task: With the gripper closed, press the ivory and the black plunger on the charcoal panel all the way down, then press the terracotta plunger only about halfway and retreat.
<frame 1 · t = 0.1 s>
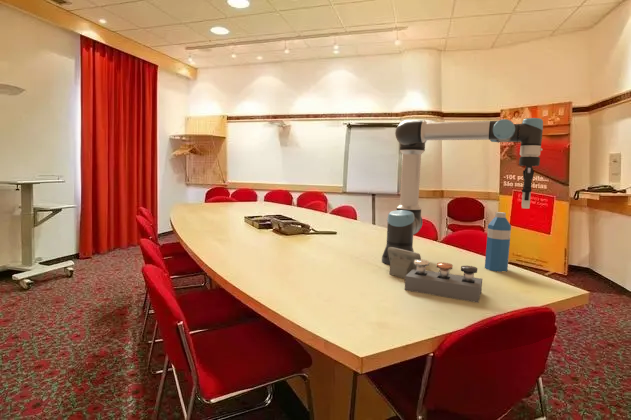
hand: (525, 207, 161), 28 cm above the table, fingers open, 13 cm apart
plunger black: (468, 275, 130), point 7 cm above the table, slide at 0.0 cm
panel: (442, 291, 134), on the table
digital clock: (404, 275, 154), on the table
plunger ivory: (421, 268, 137), point 7 cm above the table, slide at 0.0 cm
water bottle: (495, 269, 168), on the table
plunger terracotta: (444, 271, 134), point 7 cm above the table, slide at 0.0 cm
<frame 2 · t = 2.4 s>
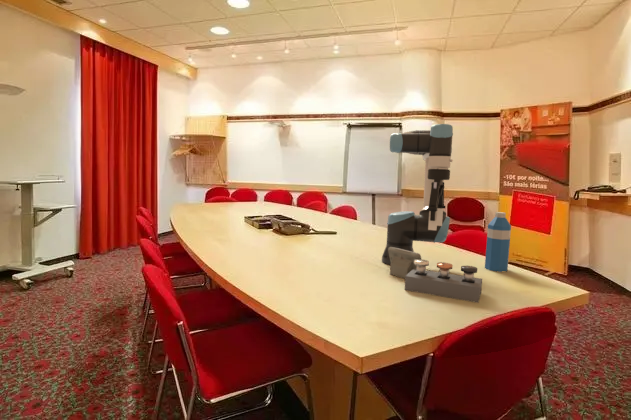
hand: (435, 227, 138), 22 cm above the table, fingers open, 13 cm apart
nothing on the table moved.
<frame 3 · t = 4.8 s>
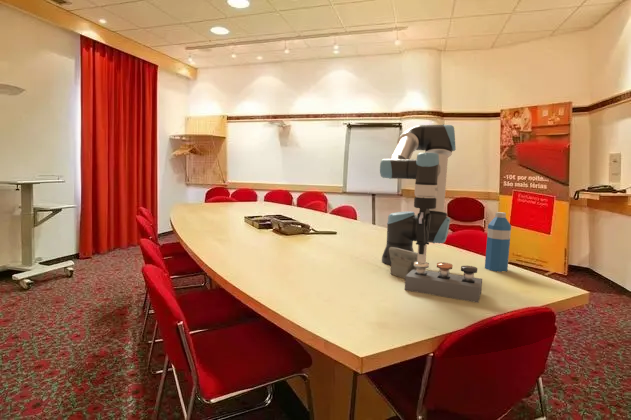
hand: (421, 262, 137), 9 cm above the table, fingers closed
plunger ivory: (420, 270, 137), point 6 cm above the table, slide at 0.8 cm, touching gripper
everything else where it was.
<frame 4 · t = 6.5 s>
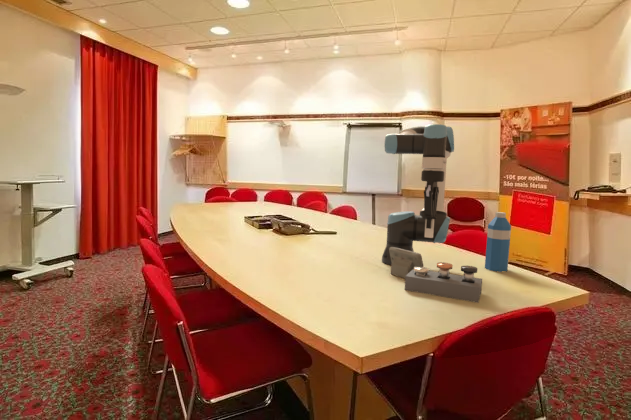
hand: (428, 237, 135), 19 cm above the table, fingers closed
plunger ivory: (420, 275, 138), point 4 cm above the table, slide at 2.7 cm
everything else where it was.
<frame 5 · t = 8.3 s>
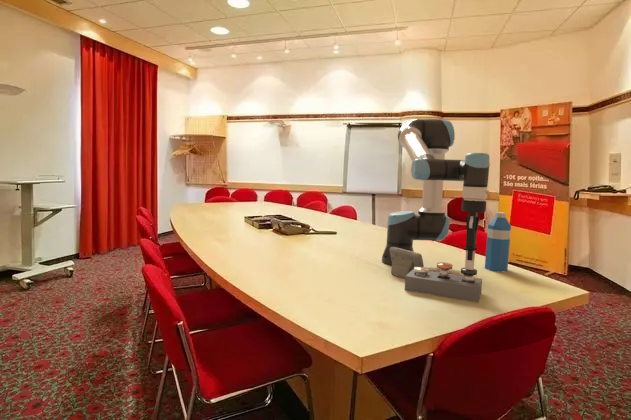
hand: (469, 269, 129), 9 cm above the table, fingers closed
plunger black: (468, 277, 130), point 6 cm above the table, slide at 0.7 cm, touching gripper
everything else where it was.
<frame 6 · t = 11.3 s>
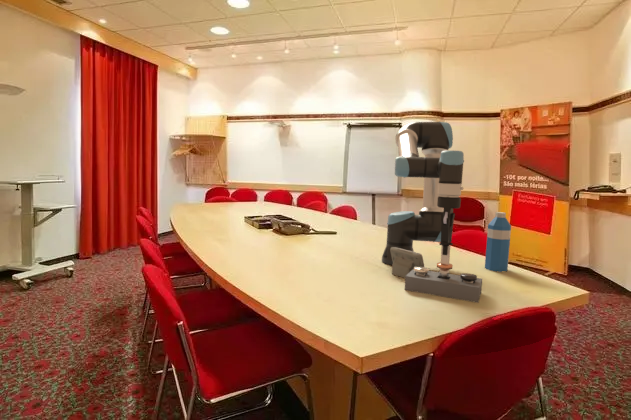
hand: (444, 263, 133), 10 cm above the table, fingers closed
plunger black: (468, 282, 130), point 4 cm above the table, slide at 2.7 cm
plunger terracotta: (444, 271, 134), point 7 cm above the table, slide at 0.0 cm, touching gripper
everything else where it was.
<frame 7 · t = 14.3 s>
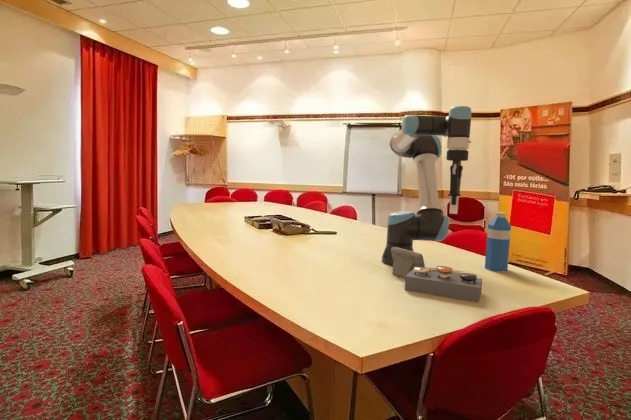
hand: (453, 213, 143), 26 cm above the table, fingers closed
plunger terracotta: (443, 275, 134), point 6 cm above the table, slide at 1.3 cm
at the end: plunger ivory slide at 2.7 cm; plunger black slide at 2.7 cm; plunger terracotta slide at 1.3 cm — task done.
